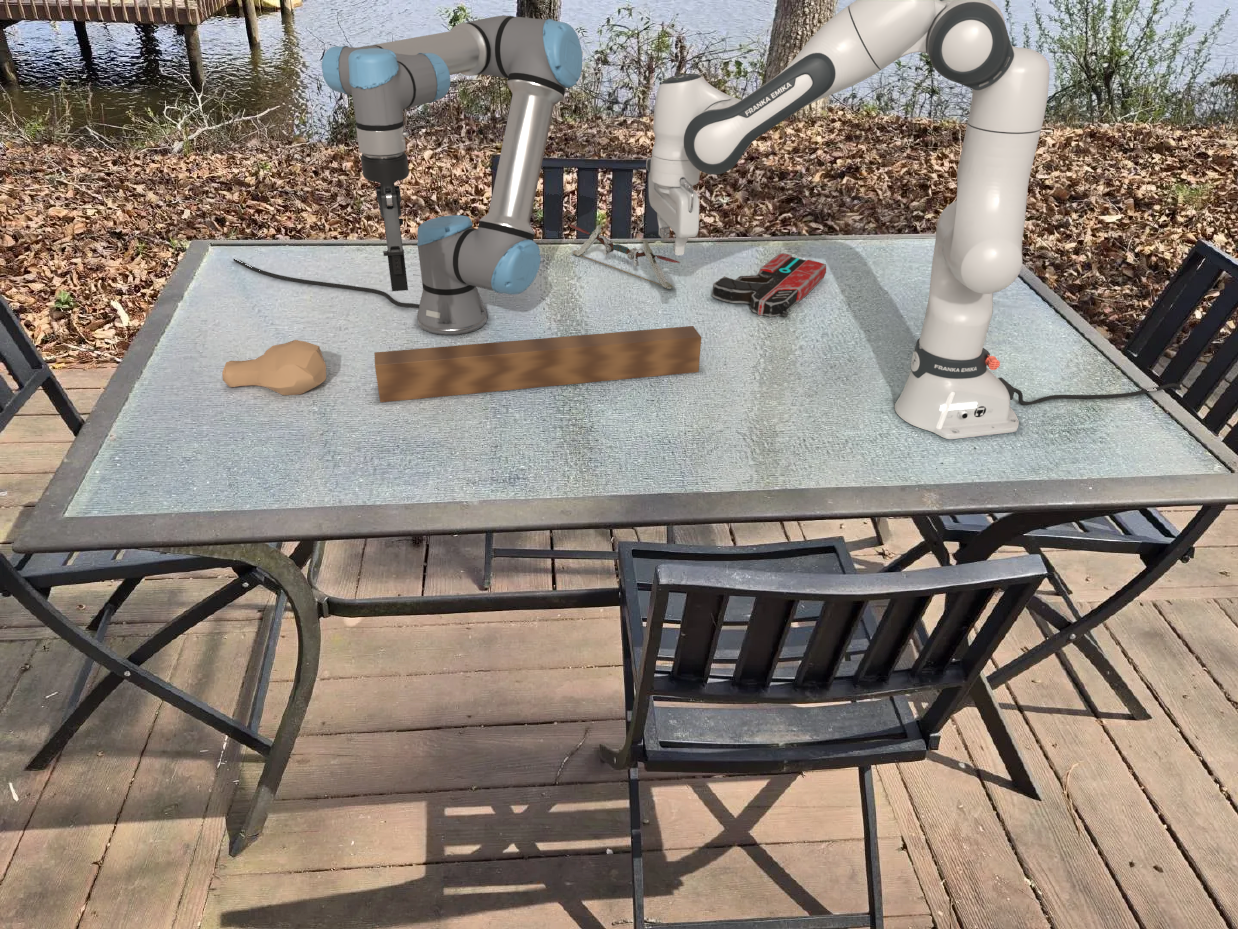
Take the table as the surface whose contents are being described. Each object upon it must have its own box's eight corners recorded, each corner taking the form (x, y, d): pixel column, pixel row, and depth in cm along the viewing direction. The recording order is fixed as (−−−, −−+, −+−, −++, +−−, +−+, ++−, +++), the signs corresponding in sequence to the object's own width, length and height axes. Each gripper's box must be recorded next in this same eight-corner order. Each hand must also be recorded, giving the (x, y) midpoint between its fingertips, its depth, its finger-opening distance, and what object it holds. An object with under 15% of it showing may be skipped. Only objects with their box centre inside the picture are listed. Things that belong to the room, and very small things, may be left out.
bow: (681, 290, 215) (684, 251, 209) (676, 292, 214) (679, 253, 208) (570, 250, 236) (570, 213, 230) (565, 252, 235) (565, 215, 229)
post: (380, 402, 166) (374, 365, 162) (379, 388, 171) (374, 352, 166) (698, 372, 180) (701, 336, 175) (690, 360, 184) (693, 325, 180)
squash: (325, 401, 166) (308, 363, 160) (224, 409, 168) (204, 372, 162) (338, 366, 174) (323, 329, 168) (242, 374, 176) (223, 338, 169)
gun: (708, 284, 207) (784, 305, 199) (760, 245, 229) (831, 262, 221) (706, 302, 209) (781, 323, 201) (758, 261, 231) (828, 278, 223)
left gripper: (410, 172, 135) (424, 301, 147) (403, 133, 155) (415, 249, 167) (360, 174, 134) (378, 304, 146) (359, 135, 154) (375, 252, 166)
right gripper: (710, 186, 151) (704, 263, 158) (675, 155, 167) (671, 226, 175) (675, 188, 149) (671, 266, 157) (643, 157, 166) (640, 228, 173)
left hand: (398, 275), depth 156 cm, fingers open, 13 cm apart
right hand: (671, 245), depth 166 cm, fingers open, 8 cm apart
